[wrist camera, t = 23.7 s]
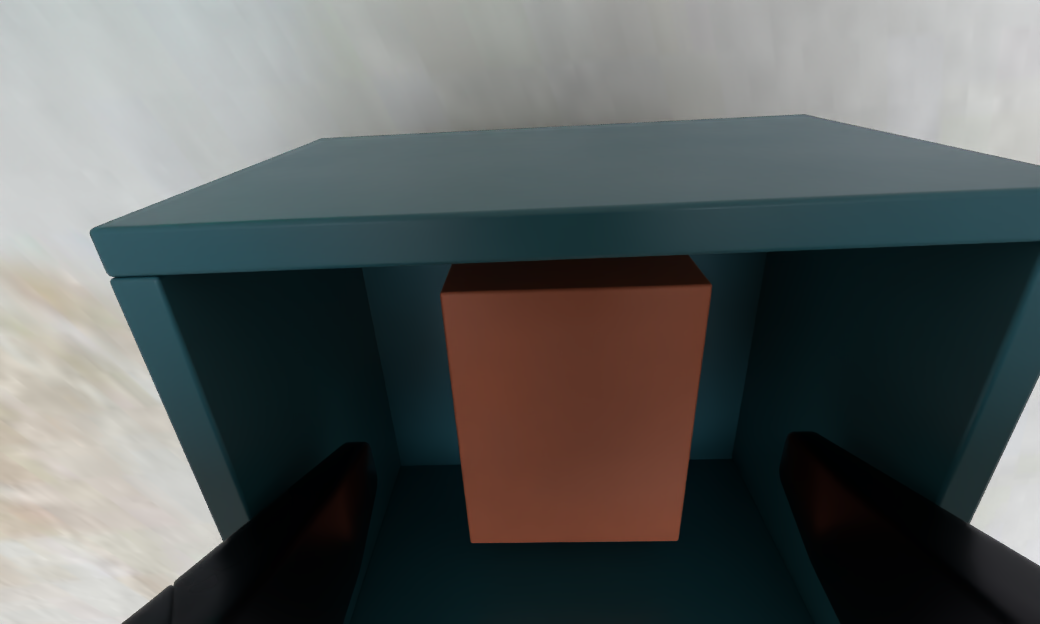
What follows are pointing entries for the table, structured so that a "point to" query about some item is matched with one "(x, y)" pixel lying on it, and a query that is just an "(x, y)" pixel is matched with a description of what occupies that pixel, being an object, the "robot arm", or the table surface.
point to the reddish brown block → (575, 394)
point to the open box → (585, 235)
